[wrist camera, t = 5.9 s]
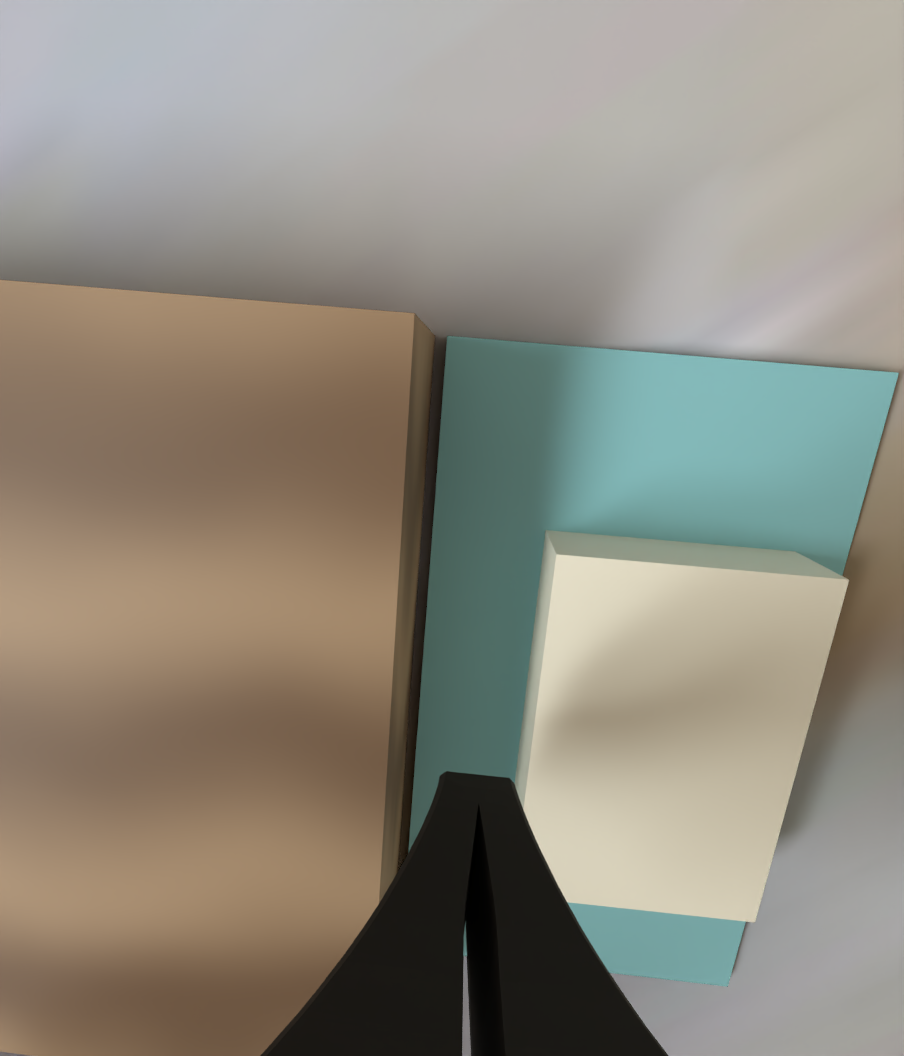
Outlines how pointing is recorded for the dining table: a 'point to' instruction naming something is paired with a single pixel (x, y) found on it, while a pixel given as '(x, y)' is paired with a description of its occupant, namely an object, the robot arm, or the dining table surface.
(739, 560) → the cream bevelled block
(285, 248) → the dining table surface
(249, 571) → the wooden block
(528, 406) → the mat
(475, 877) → the robot arm
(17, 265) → the dining table surface
